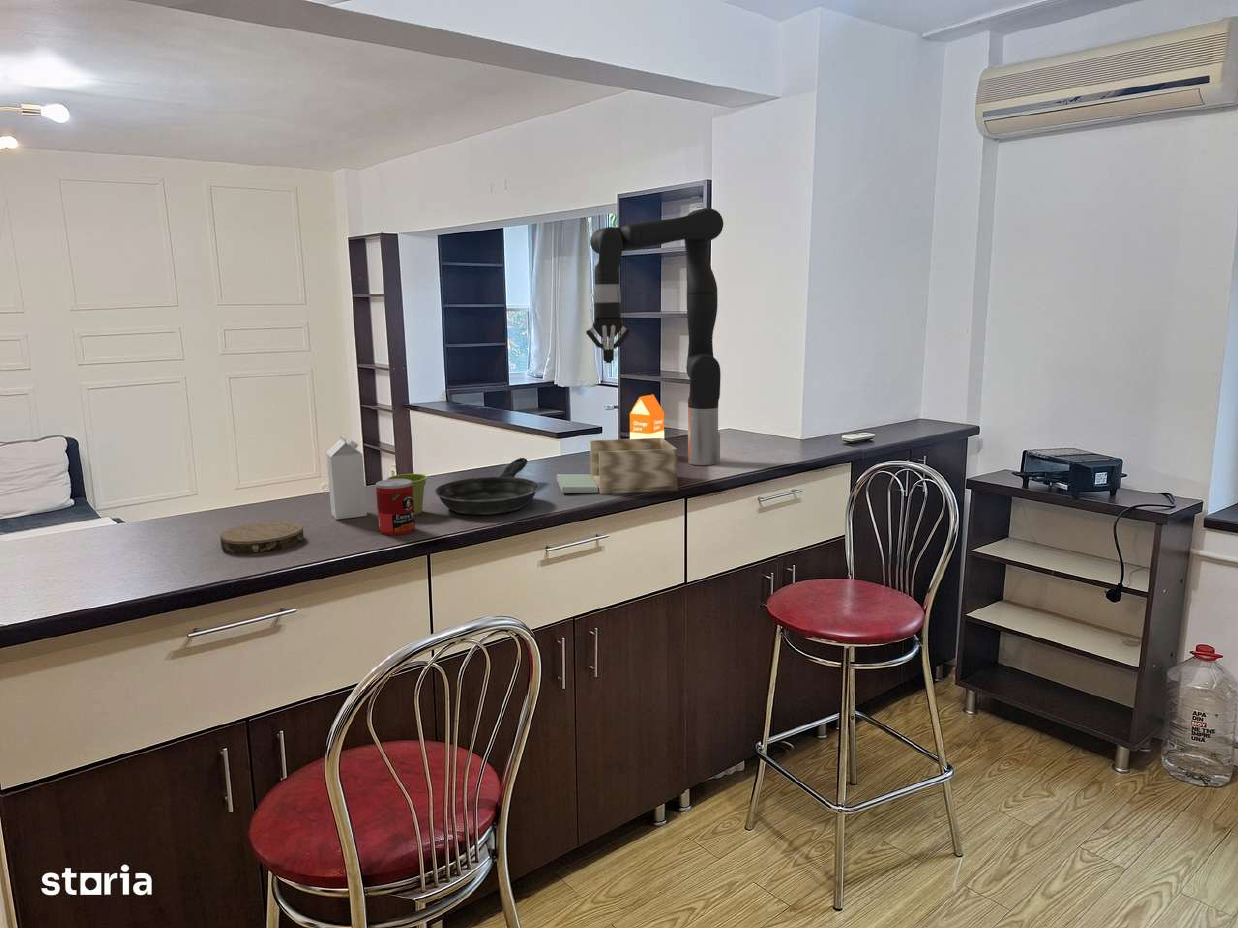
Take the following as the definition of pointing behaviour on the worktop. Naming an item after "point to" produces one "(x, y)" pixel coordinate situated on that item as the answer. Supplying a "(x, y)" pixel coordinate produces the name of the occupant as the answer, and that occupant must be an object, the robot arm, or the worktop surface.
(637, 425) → the orange juice
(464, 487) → the frying pan
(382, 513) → the canned food
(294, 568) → the worktop surface
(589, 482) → the tailgate
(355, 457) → the milk carton
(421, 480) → the plant pot
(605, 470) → the crate
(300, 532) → the brown flat disc
